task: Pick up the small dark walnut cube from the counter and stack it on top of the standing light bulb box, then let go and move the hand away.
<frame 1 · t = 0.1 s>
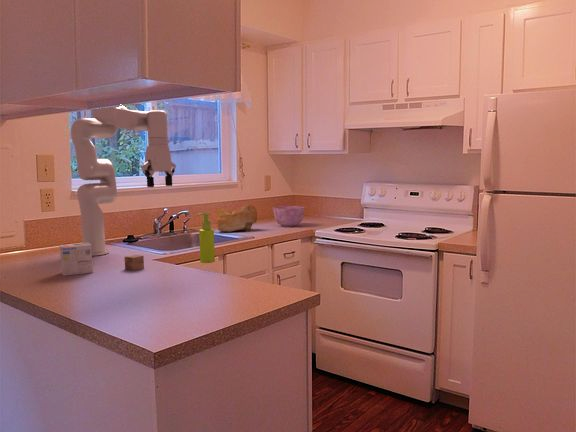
hand: (160, 186, 204), 31 cm above the counter, tool pointing down, fingers open, 9 cm apart
light bulb box: (77, 273, 194), on the counter
soap dispenser: (206, 262, 211), on the counter
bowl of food: (289, 226, 319), on the counter
walnut cube: (134, 268, 199), on the counter
rough brown rock: (236, 231, 302), on the counter
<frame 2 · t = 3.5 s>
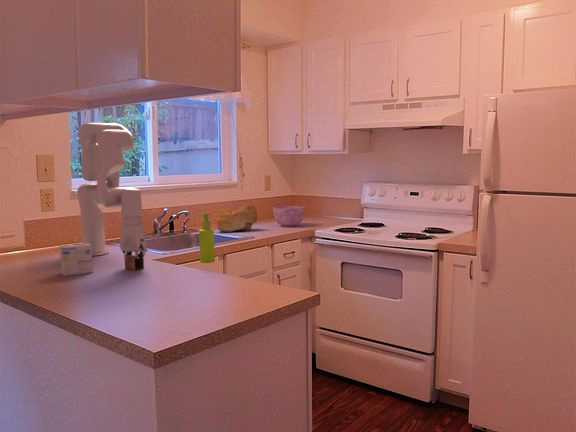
hand: (134, 267, 199), 0 cm above the counter, tool pointing down, fingers closed on walnut cube, 5 cm apart
walnut cube: (134, 268, 199), on the counter, touching gripper
everything else where it was.
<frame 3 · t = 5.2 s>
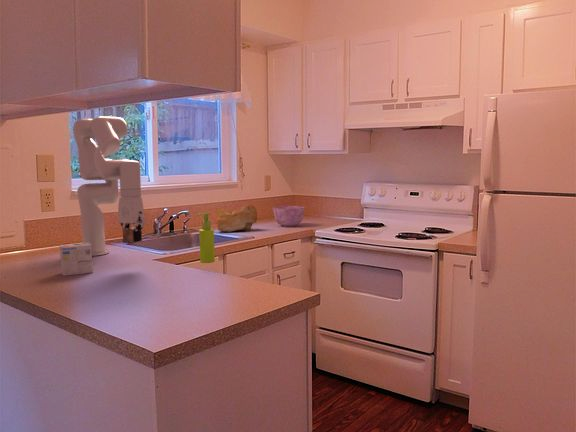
hand: (132, 240, 199), 11 cm above the counter, tool pointing down, fingers closed on walnut cube, 5 cm apart
walnut cube: (132, 241, 199), point 11 cm above the counter, touching gripper
everything else where it was.
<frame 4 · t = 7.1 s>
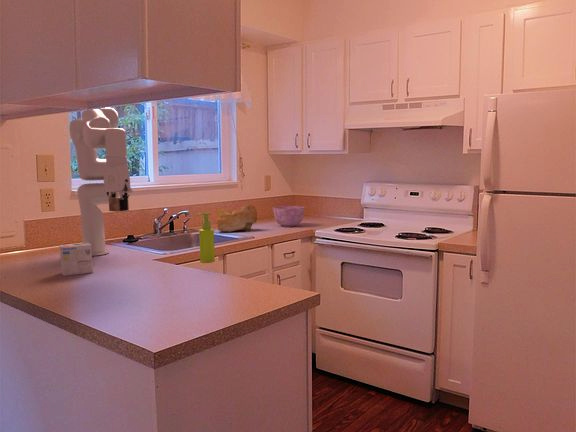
hand: (118, 209, 196), 23 cm above the counter, tool pointing down, fingers closed on walnut cube, 5 cm apart
walnut cube: (119, 210, 196), point 23 cm above the counter, touching gripper
everything else where it was.
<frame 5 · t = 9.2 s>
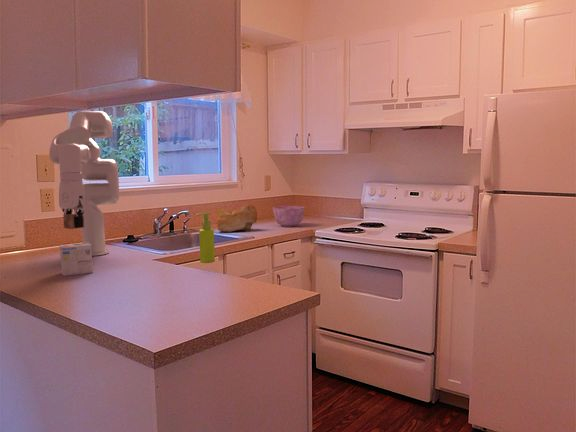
hand: (74, 226, 191), 18 cm above the counter, tool pointing down, fingers closed on walnut cube, 5 cm apart
walnut cube: (74, 227, 192), point 17 cm above the counter, touching gripper
everything else where it was.
when the fingers open (13 cm above the counter, at t = 10.8 s): walnut cube drops 2 cm, resting on light bulb box.
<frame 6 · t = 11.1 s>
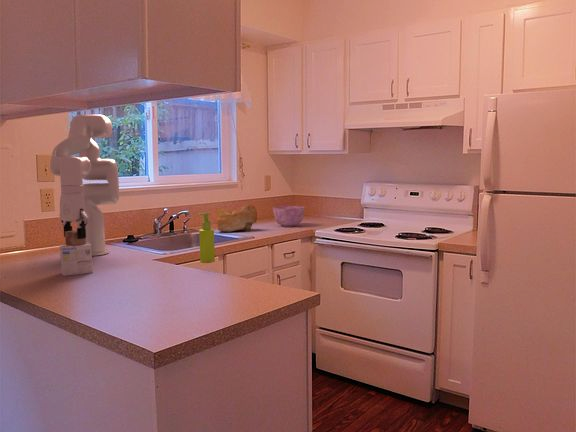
hand: (75, 237, 192), 13 cm above the counter, tool pointing down, fingers open, 7 cm apart
light bulb box: (77, 273, 194), on the counter, touching walnut cube
walnut cube: (75, 244, 192), point 11 cm above the counter, touching light bulb box
everything else where it was.
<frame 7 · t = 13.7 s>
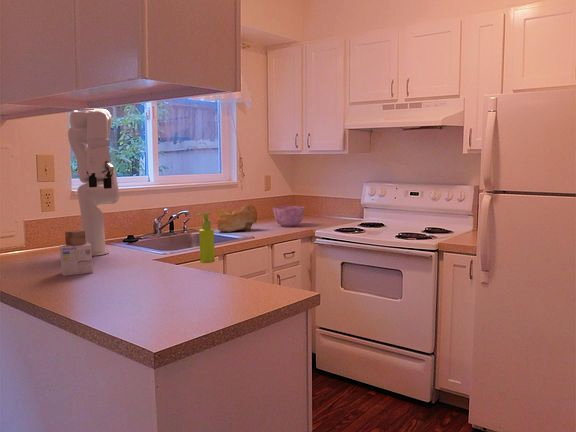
hand: (100, 187, 202), 31 cm above the counter, tool pointing down, fingers open, 9 cm apart
nothing on the counter moved.
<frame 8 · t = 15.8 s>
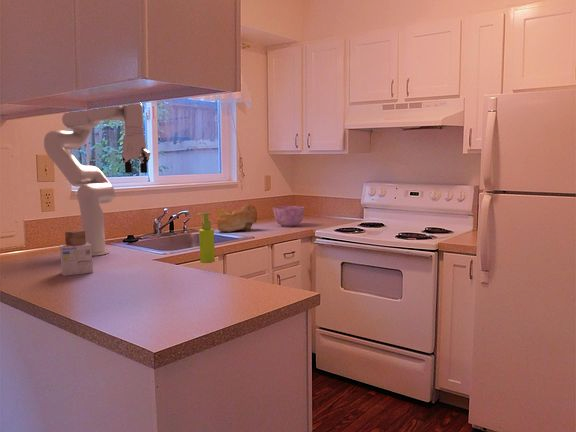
hand: (136, 172, 219), 36 cm above the counter, tool pointing down, fingers open, 9 cm apart
nothing on the counter moved.
at the end: walnut cube inside the target area on the light bulb box (0.2 cm from its centre), point 11.0 cm above the light bulb box's base; walnut cube tilted 0°; the gripper is holding nothing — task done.
